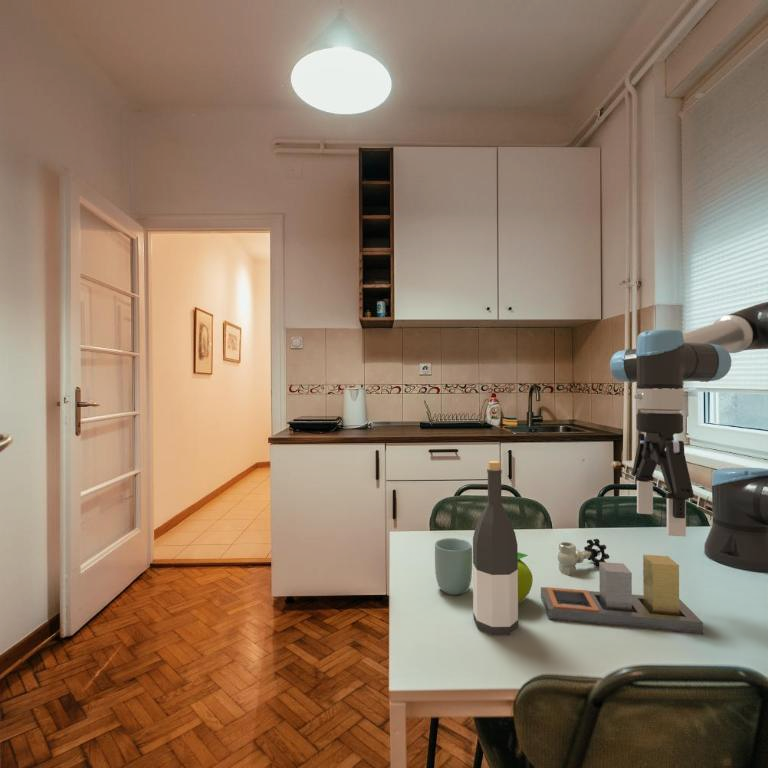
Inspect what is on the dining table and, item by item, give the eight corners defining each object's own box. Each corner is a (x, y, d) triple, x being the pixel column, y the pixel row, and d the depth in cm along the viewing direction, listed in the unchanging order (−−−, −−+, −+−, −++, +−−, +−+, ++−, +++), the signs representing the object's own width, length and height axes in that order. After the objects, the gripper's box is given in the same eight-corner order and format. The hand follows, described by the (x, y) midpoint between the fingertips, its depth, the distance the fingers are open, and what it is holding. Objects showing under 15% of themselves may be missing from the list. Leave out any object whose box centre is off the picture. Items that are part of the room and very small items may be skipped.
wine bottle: (491, 640, 75) (490, 467, 75) (464, 618, 82) (463, 460, 83) (527, 630, 78) (526, 463, 78) (498, 609, 86) (498, 457, 86)
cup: (449, 602, 88) (449, 553, 88) (428, 587, 95) (428, 541, 95) (479, 594, 92) (479, 546, 92) (457, 579, 99) (456, 535, 99)
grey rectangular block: (623, 609, 86) (623, 563, 86) (631, 621, 81) (631, 572, 81) (599, 607, 86) (599, 561, 87) (606, 618, 82) (606, 571, 82)
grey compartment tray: (678, 608, 86) (678, 596, 86) (703, 633, 77) (703, 620, 77) (540, 596, 91) (540, 585, 91) (548, 619, 82) (548, 607, 82)
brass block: (668, 613, 84) (668, 556, 84) (679, 625, 80) (678, 565, 80) (643, 611, 85) (643, 554, 85) (653, 623, 81) (652, 563, 81)
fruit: (480, 591, 93) (480, 544, 93) (524, 591, 93) (523, 544, 93) (489, 613, 84) (489, 561, 84) (537, 614, 84) (537, 562, 84)
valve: (571, 579, 99) (609, 570, 104) (571, 550, 99) (609, 543, 104) (550, 568, 105) (587, 560, 110) (550, 541, 105) (586, 534, 110)
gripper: (615, 408, 96) (615, 505, 95) (667, 415, 71) (667, 545, 71) (653, 409, 94) (653, 507, 94) (718, 416, 70) (718, 548, 69)
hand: (659, 523), depth 82 cm, fingers open, 13 cm apart
